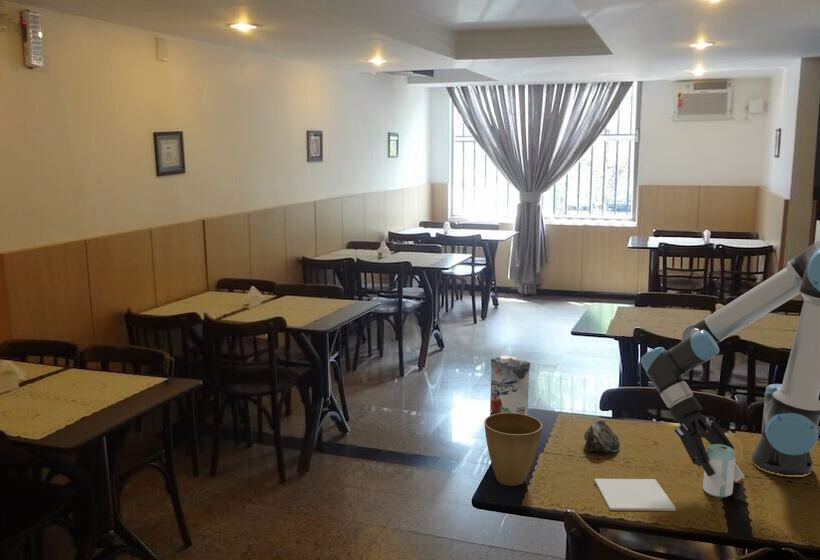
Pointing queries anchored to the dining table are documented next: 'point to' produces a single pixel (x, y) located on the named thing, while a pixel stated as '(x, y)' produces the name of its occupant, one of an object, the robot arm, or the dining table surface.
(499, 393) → the juice carton
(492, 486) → the dining table surface
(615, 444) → the fossil
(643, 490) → the white mat
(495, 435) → the plant pot
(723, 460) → the can
